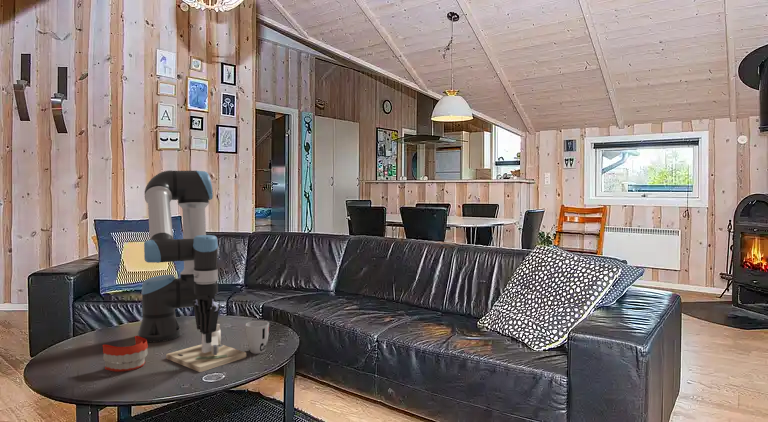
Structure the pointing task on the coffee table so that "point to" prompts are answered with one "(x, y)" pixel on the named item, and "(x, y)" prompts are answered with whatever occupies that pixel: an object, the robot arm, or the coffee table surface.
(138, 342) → the toy
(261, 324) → the cup
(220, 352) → the board
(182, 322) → the coffee table surface
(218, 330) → the lever
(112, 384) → the coffee table surface
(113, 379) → the coffee table surface
